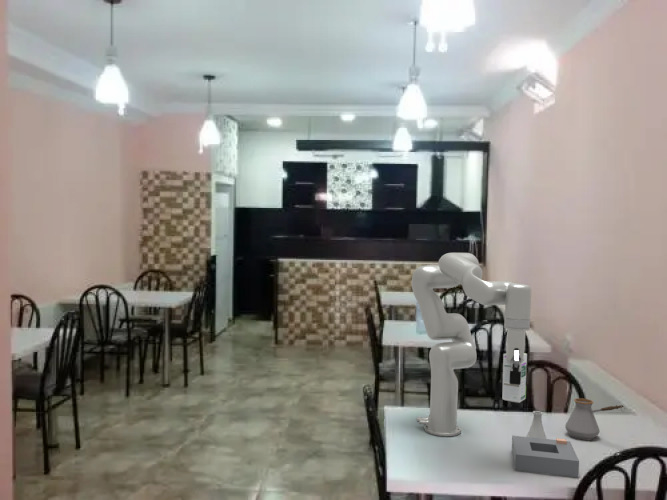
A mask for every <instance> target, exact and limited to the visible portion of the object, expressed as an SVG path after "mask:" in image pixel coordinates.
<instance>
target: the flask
mask: <svg viewBox="0 0 667 500" xmlns="http://www.w3.org/2000/svg"><path fill="white" fill-rule="evenodd" d="M532 414H533V419H532V422H531V425H530V427H529V430H528V433H527V434H526V437H531V438H541V439H547V436H546V433H545V430H544V426H543V421H542V419H543V418H542V416H543V412H542V411H540V410H539V411H538V410H533V411H532Z"/></svg>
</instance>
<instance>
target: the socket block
mask: <svg viewBox="0 0 667 500" xmlns="http://www.w3.org/2000/svg"><path fill="white" fill-rule="evenodd" d="M511 455H512V459H513V460H512V461H513V466H514V471H515V472H522V471H523V473H532V474H540V475H549V476H559V477H567V478H568V477H569V478H577V479H578V478H579V475H580V474H579V473H580V470H579V469H580V460H579V458H578V455H577V454H576V451H575V449H574V447H573V445H572V442H571V441H569V440H567V439H565V438H555V439H551V438H550V439H549V438H546V439H541V438H531V437H527V436H519V435H512V439H511Z"/></svg>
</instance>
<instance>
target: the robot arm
mask: <svg viewBox="0 0 667 500" xmlns="http://www.w3.org/2000/svg"><path fill="white" fill-rule="evenodd" d="M437 263H438V264H427V265H420V266H419V267H417V268H416V269H415V270H413V272H412V276H411V290H412V293H413V295H414V298H415V300H416V301H417V304H418V307H419V310H420V313H421V317H422V321H423V324H424V328H425V330H426V331H425V332H426V334H427V336H428V338H429V339H430V340H432V341H448V342H439V343H436V344H435V345H433V346H432V347H431V348H430V350H429V353H428V354H429V355H428V358H429V365H430V377H431V378H430V395H429V396H430V400H429V415H428V416H425V417H422V416H416V423H419V425H424V431H425V432H427V433H428V434H430V435H432V436H433V435H434V436H438V437H456V436H459V435H460V434H461V431H462V430H461V428H460V427H459V426H457V422H458V420H457V418H458V415H457V414H458V397H459V395H458V394H459V380H458V377H457V375H456V374H455V371H454V370H459V369H467V368H471V367H473V366H474V365H475V363H476V362H477V350H476V346H475V343H474V339H473V335H472V333H471V330H470V325H469V323H468V321H467V319H466V318H465V317H464V316H463V315H462V314H460V313H456V312H454V313H452V312H451V313H448V312H447V311H446V309H445V307H444V303H443V301H442V299H441V298H440V296H439V294H437V292H435V291H434V289H451V288H455V287H457V286H459V285H460V286H462V289H463V292H464V293H465V296H467V297H468V298H470V299H471V300H473V301H474V302H476V303H478V304H481V305H483V306H497V305H498V306H503V305H504V307H505V309H504V324H503V325H504V329H506V330H507V334H506V345H505V346H506V351H505V353H506V360H507V361H508V362H509V360H510V361H511V371H510V382H509V383H510V384H515V385H520V383H521V371H520V365H521V363H522V362H523V357H524V353H525V346H526V345H525V344H526V331H530V328H531V327H530V325H531V308H532V307H531V305H532V288H531V286H530V285H529V284H524V283H515V282H513V281H508V280H503V281H502V280H495V281H494V280H487V281H486V280H483V279H482V278H483V274H484V273H483V269H482V267H480V263H479V260H478V258H477V257H476V256H475V255H474V254H472V253H469V252H448V253H445V254H443V255H441V257H440V258H439V259H438V262H437ZM519 356H520V358H519ZM513 360H514V361H513Z"/></svg>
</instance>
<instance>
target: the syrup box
mask: <svg viewBox="0 0 667 500" xmlns="http://www.w3.org/2000/svg"><path fill="white" fill-rule="evenodd" d="M502 355H503V358H502V359H503V360H502V361H503V362H502V390H501V391H502V397H501V398H502V400H504V401H507V402H512V403H521V402H523V401H525V400H526V399H527V376H528V375H527V372H528V371H527V369H528V367H527V366H528V353H526V352H524V357H523V362H522V363H521V365H520V371H521V383H520V385H515V384H510V383H509V382H510V371H511V361H510V360H509V362H508V361H507V360H506V352H505V353H503V354H502ZM519 358H520V356H519ZM513 361H514V360H513Z"/></svg>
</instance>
